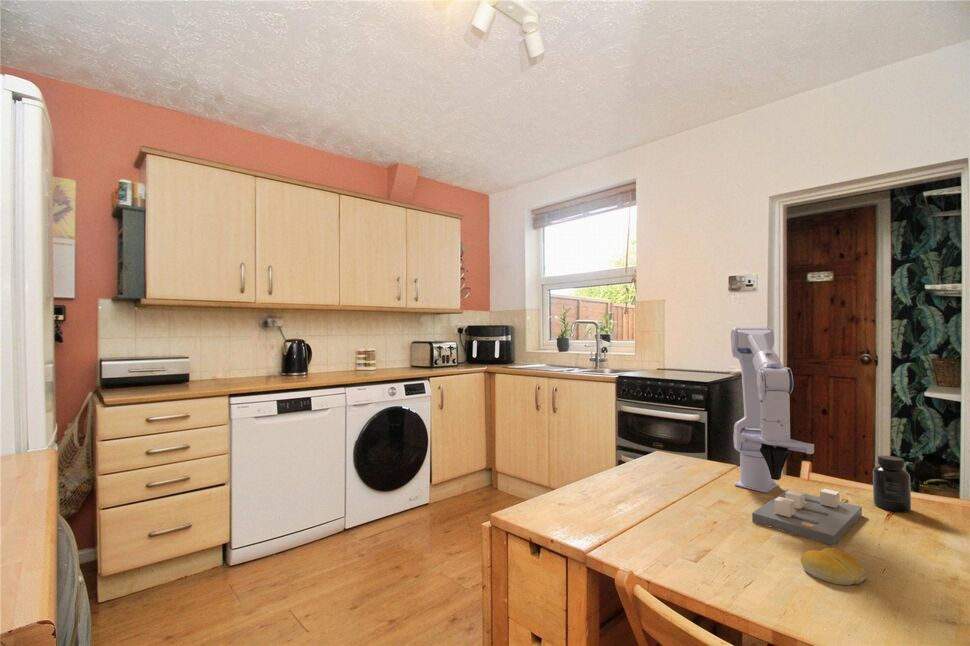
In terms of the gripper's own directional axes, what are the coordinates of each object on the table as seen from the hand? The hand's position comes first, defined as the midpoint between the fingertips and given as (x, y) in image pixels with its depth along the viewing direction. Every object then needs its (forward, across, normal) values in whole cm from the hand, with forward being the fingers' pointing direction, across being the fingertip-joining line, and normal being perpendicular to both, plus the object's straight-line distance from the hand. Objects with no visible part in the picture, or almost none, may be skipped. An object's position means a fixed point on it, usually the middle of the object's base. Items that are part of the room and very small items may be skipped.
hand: (775, 478), depth 105 cm
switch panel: (+9, +5, +4) cm, 11 cm away
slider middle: (+7, +2, +4) cm, 8 cm away
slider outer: (+7, +2, -3) cm, 7 cm away
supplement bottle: (+9, +16, +27) cm, 33 cm away
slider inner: (+7, +8, +11) cm, 15 cm away
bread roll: (+9, +15, -20) cm, 26 cm away
